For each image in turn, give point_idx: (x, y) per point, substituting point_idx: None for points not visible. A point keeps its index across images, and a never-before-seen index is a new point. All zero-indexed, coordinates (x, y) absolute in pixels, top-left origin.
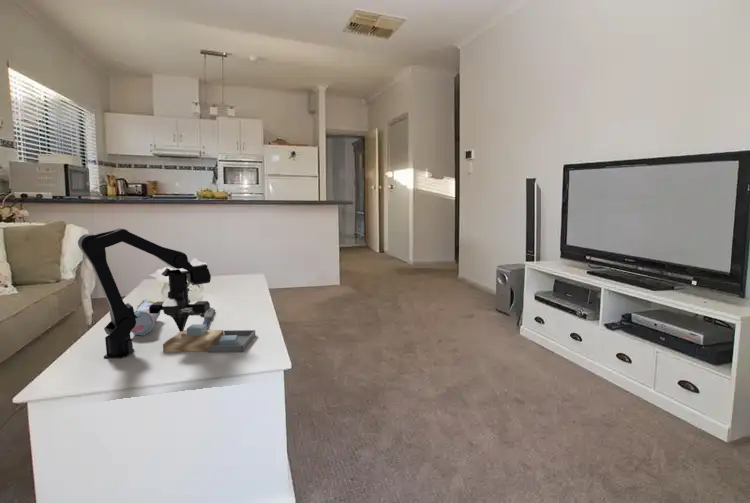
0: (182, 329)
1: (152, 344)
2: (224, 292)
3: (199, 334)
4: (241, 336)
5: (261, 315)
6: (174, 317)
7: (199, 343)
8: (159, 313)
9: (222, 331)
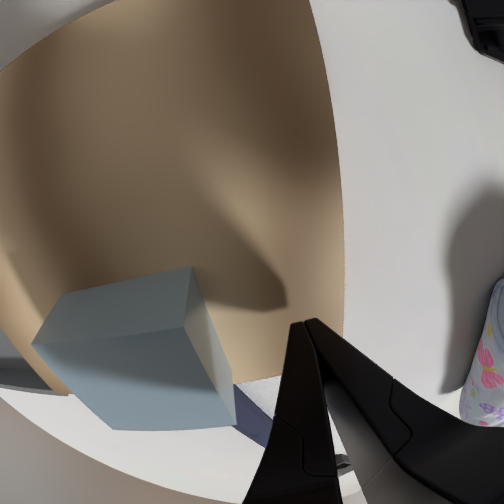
0: (288, 338)
1: (448, 160)
2: (342, 490)
3: (70, 299)
4: (2, 354)
5: (156, 478)
6: (447, 446)
7: None
8: (461, 411)
9: (44, 377)
